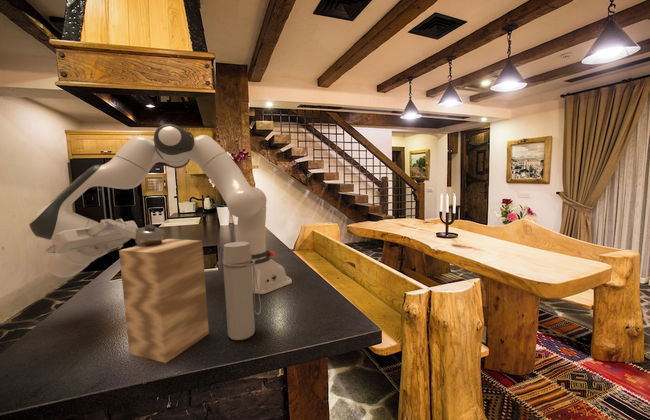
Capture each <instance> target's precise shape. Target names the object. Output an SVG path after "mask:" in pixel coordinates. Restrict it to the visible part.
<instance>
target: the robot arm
mask: <svg viewBox="0 0 650 420" xmlns="http://www.w3.org/2000/svg"><path fill="white" fill-rule="evenodd" d="M190 161H193V162H194V163H195V164H196V165H198V167H199V168H200V169H201V170H202V172H203V173H204V174H205V175H206V176H207V178H208V179H209V180H210V182H212V183H213V185H214V186H215V187H216V189H217V190H218V192H219V194H220V195H221V197H222V199H223V201H224V202H225V204H226V207H227V209H228V212H229V213H230V214H231V215H232V216H234V217H236V218H237V222H236V223H237V224H236V229H235V242H248V243H249V245H250V251H251V257H252V259H251V260H255V266H254V268H255V272H254V281H253V264H252V265H251V268H252V286H253V294H254V285H255V294H256V295H258V290H259V295H264V294H267V293H270V292H273V291H276V290H279V289H281V288H283V287H285V286H288V285H290V284H293V280H292V278H291V277H289V276H287V273H286V270H285V268H284V266H283V265H282V264H280V263H278V262H276V261H275V260H273V259H271V257H273V258H274V257H275V256H276V252H275V251H272V250H267V248H266V247H267V245H266V244H267V243H266V222H267V221H266V220H267V196H266V194H265V193H264V191H262V190H261V189H260V188H258V187H257V186H256V187H255V186H251V185H250V183H249V182H248V180H247V179H246V177H245V176H244V174H243V172H242V170H241V168H240V167H239V166H238V165H237V164H236V162H235V161H234V159H232V157H231V156H230V155H229V154H228V152H227V151H226V150H225V149H224V148H223V147H222V146H221V145H220V144H219V143H218V142H217V141H216V140H215V139H213V138H212V137H211V136H209V135H207V134H200V135H197V136H195V137H194V135H193V134H192V133H191V132H190V131H188V130H185V129H183V128H182V127H180V126H178V125H177V124H172V123H165V124H162V125H160V126H158V128H156V130H155V131H154V135H153V139H151V138H148V137H146V136H145V135H133V136H132V137H130V138H129V139H128V140H127V141H126V142H125V143H123V145H122V146H121V147H120V148H119V149H118V150H117V152H116V153H115V154H114V156H113V157H112V158H111V159H110V160H109V161H107V162H106V163H104V164H94V165H92V166H90V167H89V168H88V169H86V170H85V171H84V172H82V173H81V174H80V175H79V176H78V177H77V178H75V180H73V181H72V182H71V183H70V184H69V185H68V186H67V187H65V188H64V189H63V190H62V191H61V192H60V193H59V194H58V195H57V196H56V197H55V198H54V199H52V200H51V201H50V202H49V203H48V204H46V205H45V206H43V207H42V208H40V209H39V210H37V211H36V213H34V214H33V216H32V218H31V219H30V222H29V224H28V225H29V228H30V231H31V232H32V234H34V236H35V237H38V238H41V239H45V240H48V241H51V245H49V246H48V247H47V248H46V249H45V251H46V253H51V256H50V257H49V259H48V260H47V262H46V269H47V270H48V272H49V273H50V274H51V275H53V276H56V277H58V278H69V277H72V276H75V275H77V274H78V273H80V272H81V271H83V270H84V269H85V268H87V267H88V266H89V265H90V264H91V263H93V262H94V261H95V260H97V259H98V258H101V257H103V256H104V255H106V254H108V253H111V252H115V251H117V250H121V249H122V248H123V247H124V244H126V243H127V242H129V241H130V240H131V239H132V238H131V237H128V236H125V235H122V234H120V233H117V232H114V231H111V230H109V229H108V227H110V224H109V221H102V222H101V221H100V222H98V221H96V220H94V219H91V218H88V217H86V216H83V215H81V214H78V213H76V212H74V211H72V210H70V209H69V208H70V206H71V205H72V204H73V203H74V202H75V201H77V200H78V199H79V198H80V197H81V196H82V195H83V194H85V192H86V191H88V189H90V188H94V187H103V188H105V187H106V188H111V189H112V188H113V189H119V190H131V189H134V188H137V187H138V186H140V185H141V184H142V182H143V181H144V180H145V179H146V178H147V176H148V174H149V173H150V171H151V170H152V168H153V167H154V166H155V165H156V164H158V165H159V166H164V167H168V168H171V169H182V168H184V167H186V166H187V165H188V164H189V162H190ZM114 221H117V222H120V223H123V224H126V225H129V226H132V227H135V228H137V229H138V228H139V227H138V225H137V224H136V222H135V220H128V221H124V220H123V218H118V219H117V218H116V219H115V220H114ZM250 263H252V261H251V262H250ZM255 273H256V277H255ZM256 279H257V283H256ZM257 285H258V289H257Z"/></svg>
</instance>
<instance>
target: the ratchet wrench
mask: <svg viewBox="0 0 650 420" xmlns="http://www.w3.org/2000/svg"><path fill="white" fill-rule="evenodd" d="M102 221H109V224H110V227H108V229H109V230H111V231H114V232H117V233H120V234H122V235H125V236H128V237H131V239H134V241H135V242H134V243H136V244H137V245H138V246H139V245H145V246H153V245H159V244H161V243H162V240H164V239H163V238H164V237H163V236H164V229H162V228H159V227H156V225H152V224H148V225H147V224H145V226H143V227H142V226H141V227H138V229H137V228H135V227H132V226H129V225H126V224H123V223H120V222H117V221H115V220H114V219H112V218H106V219H105V218H104V219H101V220H100V222H102Z"/></svg>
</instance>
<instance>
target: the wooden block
mask: <svg viewBox="0 0 650 420" xmlns="http://www.w3.org/2000/svg"><path fill="white" fill-rule="evenodd" d="M203 247H204V245H203V240H201V239H200V240H198V239H197V240H195V239H194V240H193V239H178V238H166V239H162V243H161V244H159V245H153V246H145V245H139V244H138V245H135V246H132V247H127V248H123V249H122V248H121V249H118V253H119V263H120V273H121V283H122V293H123V303H124V313H125V322H126V331H127V333H126V334H127V342H128V351H129V355H133V356H136V357H141V358H144V359H148V360H153V361H156V362H160V363H164V364H167V363H168V362H170V361H171V360H173V359H174V358H176V357H177V356H178V355H180V354H182V353H183V352H184V351H186V350H187V349H189V348H190V347H191V346H194V345H195V344H196V343H198V342H199V341H201V340H202V339H203V338H205V337H206V336H208V335H209V334H210V330H209V318H208V317H209V316H208V304H207V303H208V302H207V301H208V300H207V290H206V286H207V285H206V275H205V274H206V273H205V262H204V261H205V259H204V248H203Z"/></svg>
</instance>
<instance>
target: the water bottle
mask: <svg viewBox="0 0 650 420" xmlns="http://www.w3.org/2000/svg"><path fill="white" fill-rule="evenodd" d="M222 250H223V251H222V253H223V254H222V255H223V256H222V265H223V282H224V296H225V312H226V327H227V336H228V337H229V338H230V339H231V340H233V341H243V340H246V339H249V338H251V337H252V336H254V334H255V332H256V326H255V325H256V323H255V322H256V321H255V315H261V311H262V302H261V296H260V294H259V290H258V294H257V295H258V300H259V312H257V311H256V293H255V285H254V293H253V286H252V268H251V265H252V264H253V281H254V272H255V268H254V266H255V260H251V259H252V257H251V251H250V245H249V243H248V242H236V241H233V242H227V243H225V244H224V245H223V249H222ZM251 261H252V263H250V262H251ZM255 277H256V273H255ZM256 283H257V279H256ZM257 289H258V285H257Z"/></svg>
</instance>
